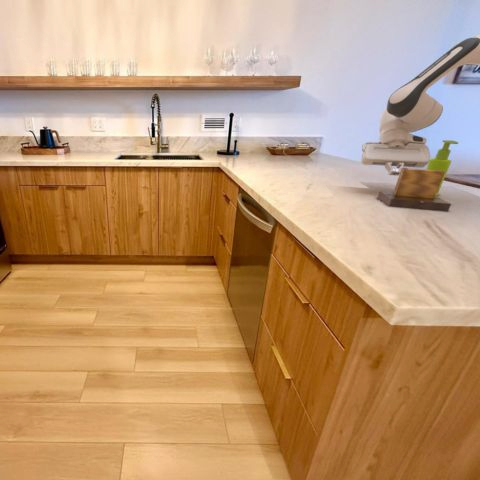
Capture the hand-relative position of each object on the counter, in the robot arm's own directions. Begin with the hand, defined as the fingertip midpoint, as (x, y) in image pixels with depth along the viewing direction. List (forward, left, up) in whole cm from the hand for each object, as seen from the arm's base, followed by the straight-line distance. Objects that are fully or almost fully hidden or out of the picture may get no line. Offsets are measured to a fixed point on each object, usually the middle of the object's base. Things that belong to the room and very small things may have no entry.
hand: (394, 174), depth 104 cm
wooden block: (-5, +8, -6) cm, 11 cm away
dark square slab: (-5, +8, -9) cm, 12 cm away
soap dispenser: (-17, -10, -9) cm, 21 cm away
